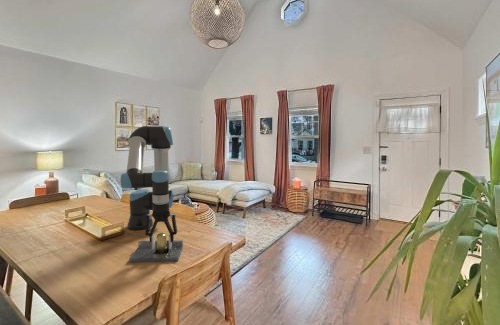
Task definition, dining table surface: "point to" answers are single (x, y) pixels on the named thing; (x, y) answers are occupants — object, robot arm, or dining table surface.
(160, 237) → the cylinder
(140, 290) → the dining table surface
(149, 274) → the dining table surface
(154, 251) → the plate
